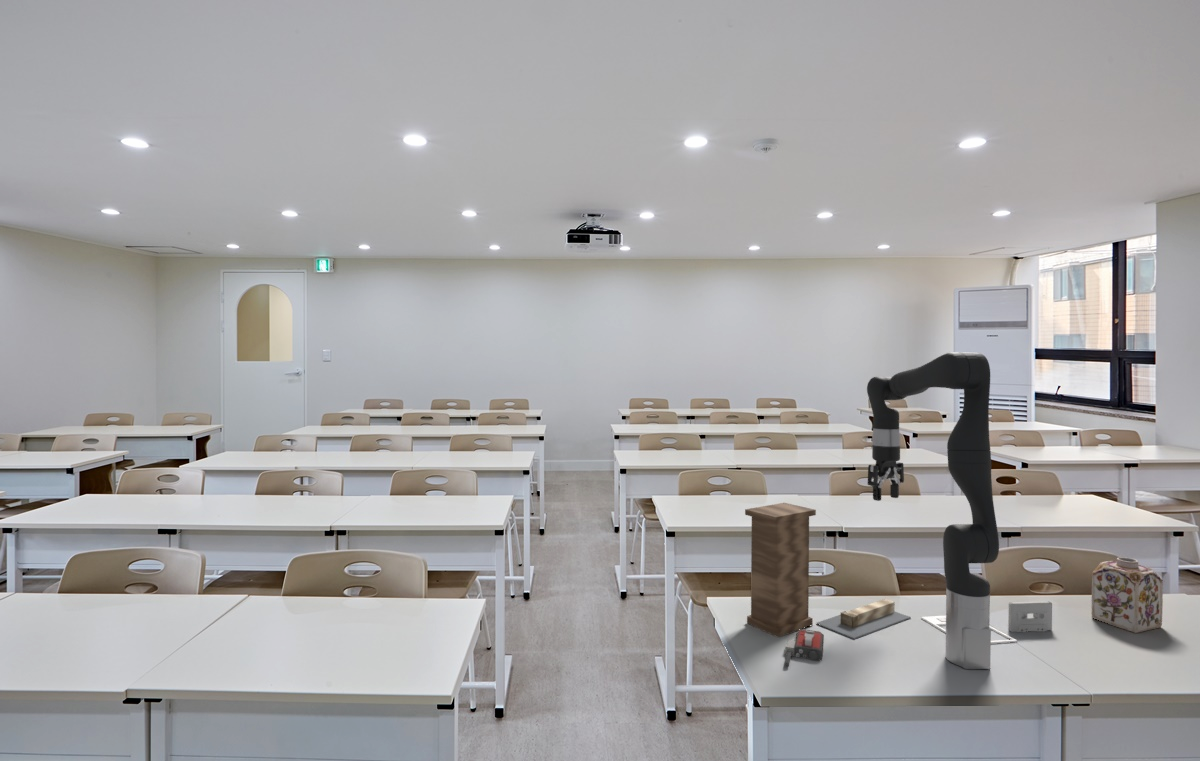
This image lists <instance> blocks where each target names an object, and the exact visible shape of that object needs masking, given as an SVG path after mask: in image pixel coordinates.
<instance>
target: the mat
mask: <svg viewBox="0 0 1200 761" xmlns="http://www.w3.org/2000/svg"><path fill="white" fill-rule="evenodd" d="M910 619H911V616H909V615H906V614H903V613H900V612H897V611H895V610H894V613H891V614H888V615H886V616H883V617H880V618H877V619H874V620H872V621H869V622H866V623H863V624H860V625H858V627H855V628H851V627H849V626H846V625H843V624H841V614H838V615H835V616H833V617H829V618H827V619H823V620H821V621H818V622H816V623H817V624H820V625H821V626H820V627H822V626H823V627H822V628H824V627H825V628H824V629H827V628H828V629H827V630H829V629H830V630H829V631H832V630H833V631H832V632H834V631H835V633H836V634H839V633H840V634H839V635H841V634H842V636H844V637H847V638H850V639H852V640H857V639H859V638H862V637H864V636H867V635H870V634H873V633H875V632H878V631H881V630H883V629H886V628H888V627H891V626H893V625H894V626H895V625H897V624H900V623H902V622H905V621H908V620H910ZM817 624H816V625H817Z"/></svg>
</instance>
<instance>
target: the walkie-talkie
mask: <svg viewBox="0 0 1200 761" xmlns="http://www.w3.org/2000/svg"><path fill="white" fill-rule="evenodd" d="M795 634H796V635H795V638H792V639H788V640H787V642H786V645H785V646H784V648H785V650H784V654H785V655H786V656H785V661H784V666H786V667H790V663H791V658H792V656H793V657H796V659H797V658H802V659H806V660H807V659H808V660H811V661H820V660H821V661H823V660H822V659H823V656H824V641H825V640H824V639H825V638H824V636H825V635H824V634H823V633H822V632H821V631H819V630H812V629H806V628H803V629H800V630H797V631H796V633H795Z"/></svg>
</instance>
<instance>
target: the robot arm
mask: <svg viewBox="0 0 1200 761" xmlns="http://www.w3.org/2000/svg"><path fill="white" fill-rule="evenodd" d="M930 388H941V389H942V388H943V389H950V390H963V408H962V411H961V415H960V416H959V418H958V420H957V421H956V424H955V425H954V427H953V429H952V430H951V433H950V435H949V437H948V440H947V444H946V446H947V447H946V448H947V452H946V453H947V465H948V466H947V468H948V472H949V473H950V476H951V477H952V479H953V481H954V483H955V484H956V486H958V488H960V490H961V492H962V493H963V495H964V496H965V497H966V500H967V501H968V503H969V508H970V510H971V518H972V519H971V520H972V523H966V524H964V523H963V524H962V523H960V524H959V523H956V524H949V525H948V526H947V527H946V528H945V529H944V532H943V538H942V546H943V547H942V548H943V573H944V576H945V577H944V578H945V581H946V584H945V585H946V587H945V588H946V589H945V590H946V591H945V592H946V593H945V596H946V597H945V616H946V625H945V630H946V633H945V658H946V660H947V661H948V662H951V663H952V664H954V665H956V666H959V667H961V668H963V669H966V670H969V669H970V670H990V669H991V655H992V654H991V650H992V649H991V646H992V644H991V641H992V640H991V639H992V637H991V636H992V633H991V632H992V630H991V629H989V626H990V619H991V618H990V613H991V612H990V610H991V607H990V606H991V601H990V600H991V584H990V582H989V580H987V579H985V578H984V577H982V576H981V575H980V576H979V575H977V574H974V573H971V570H970V564H990V563H991V564H992V563H994V562H995V561H996V560H997V559H998V557H999V554H1000V540H999V531H998V525H997V519H996V512H995V505H994V496H993V495H994V494H993V483H992V482H993V481H992V456H991V455H992V454H991V444H990V442H991V441H990V420H989V419H990V418H989V416H990V415H989V413H990V412H989V411H990V392H991V391H990V390H991V367H990V363H989V360H988V359H987V357H986V356H985V355H984V354H982V353H981V352H974V351H973V352H972V351H969V352H967V351H966V352H965V351H952V352H950V351H949V352H946V353H944V354H941V355H940V356H937V357H936V358H934V359H932V360H931V361H929V362H927V363H925V364H923V365H921V366H918V367H915V368H911V369H907V370H905V371H904V370H903V371H901V372H898V373H895V374H893V376H872V377H871V378H870V379H869V381H868V382H867V386H866V393H867V396H868V401H869V403H870V406H871V411H872V416H873V417H872V418H873V420H872V421H873V424H872V425H873V429H872V437H871V438H872V444H871V446H872V447H871V449H872V450H871V451H872V452H871V453H872V456H871V458H872V460H873V461H875V464H873V465H872V464H869V465H868V467H867V486H870V487H872V500H874V501H876V502H879V501H882V485H884V484H883V483H885V482H886V481H887V480H889V483H890V487H889V488H890V489H889V490H890V497H891V498H894V499H898V498H899V497H900V496H899V495H900V494H899V493H900V492H899V491H900V485H901V483H904V481H905V470H904V463H903V462H900V460H901V434H900V433H901V432H900V412H899V411H898V410H897V409H895V408H891V407H888V405H887V404H886V401H899V400H904V399H905V398H907V397H910V396H915V395H920V394H921V393H924V392H926V391H927V390H928V389H930Z"/></svg>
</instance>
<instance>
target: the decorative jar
mask: <svg viewBox="0 0 1200 761" xmlns="http://www.w3.org/2000/svg"><path fill="white" fill-rule="evenodd" d="M1091 576H1092V577H1091V619H1092V618H1094V619H1093V620H1095V619H1097V620H1096V621H1098V620H1099V622H1101V621H1102V623H1104V622H1105V623H1104V624H1107V623H1108V624H1107V625H1110V626H1114V627H1116V628H1119V629H1121V630H1125V631H1127V632H1131V633H1134V634H1138V633H1142V632H1143V633H1144V632H1147V631H1151V630H1155V629H1160V628H1161V627H1162V625H1163V603H1164V601H1163V600H1164V598H1163V579H1162V578H1161V576H1159V574H1158V573H1157V572H1155V571H1154V570H1153V569H1152V568H1150V567H1148V566H1144V565H1140V564H1139V560H1137V559H1136V558H1133V557H1132V558H1131V557H1125V556H1124V557H1123V556H1122V557H1117V558H1116V560H1107V561H1106V560H1105V561H1101V562H1099V564H1098V566H1097V567H1095V569H1094V570H1093V571H1092V575H1091Z"/></svg>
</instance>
